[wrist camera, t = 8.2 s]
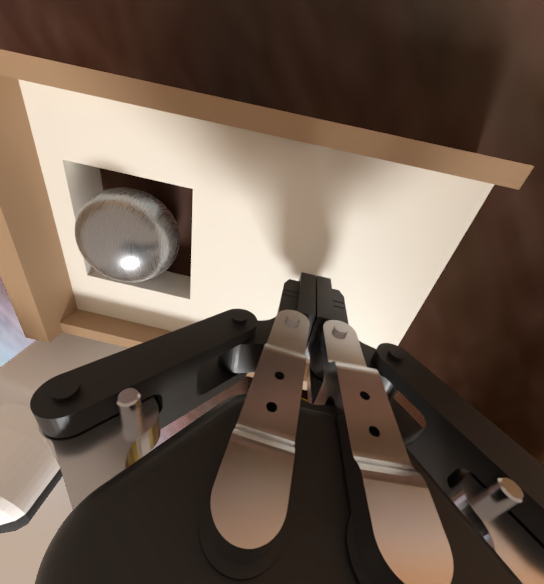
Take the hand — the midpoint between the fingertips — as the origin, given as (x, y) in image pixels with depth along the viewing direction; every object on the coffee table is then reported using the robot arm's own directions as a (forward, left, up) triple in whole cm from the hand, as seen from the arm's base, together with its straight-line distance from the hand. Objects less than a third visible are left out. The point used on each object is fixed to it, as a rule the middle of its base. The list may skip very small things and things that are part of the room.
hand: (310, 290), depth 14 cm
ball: (+10, 0, -1) cm, 10 cm away
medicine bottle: (+15, +13, -4) cm, 20 cm away
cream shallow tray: (+5, 0, -4) cm, 6 cm away
